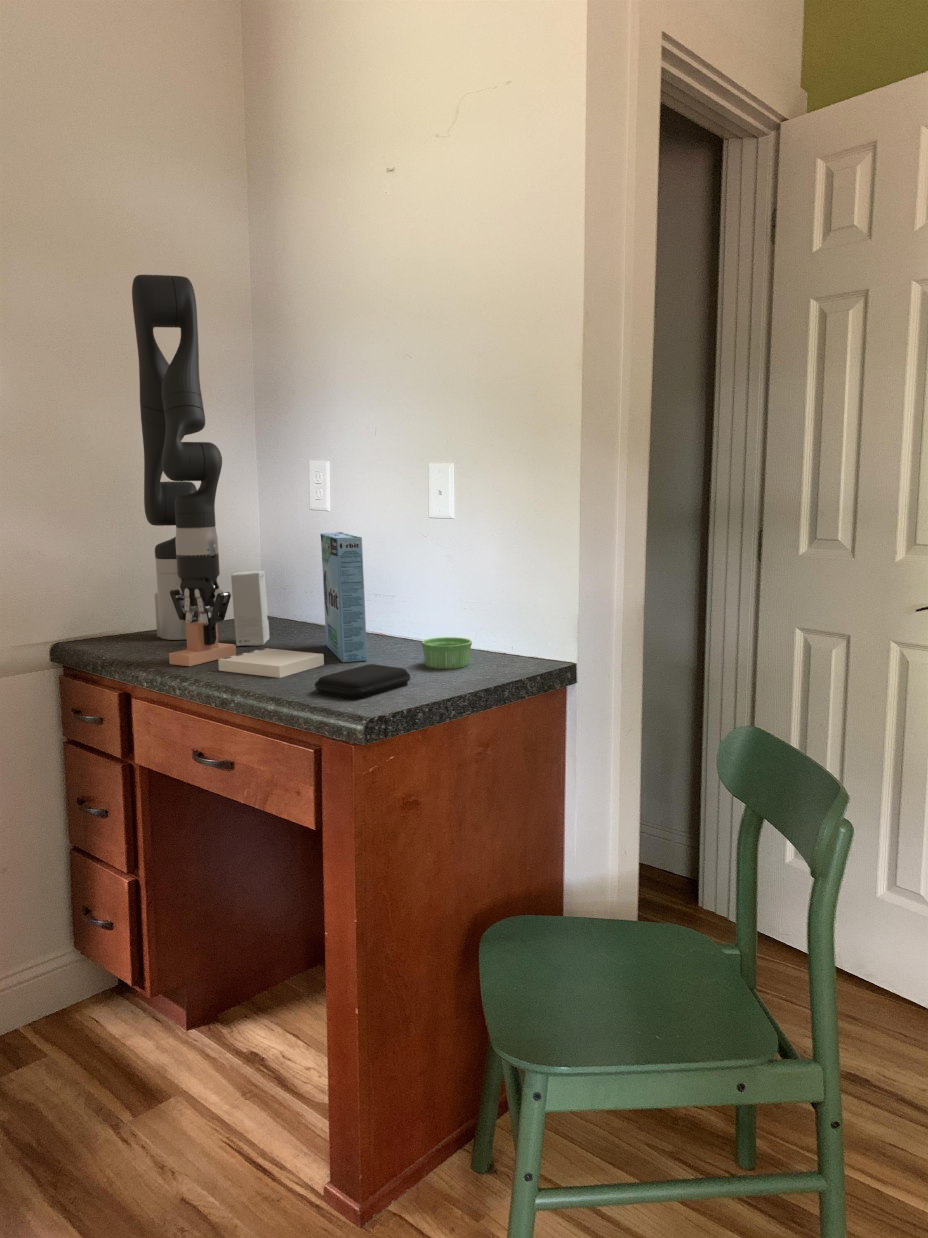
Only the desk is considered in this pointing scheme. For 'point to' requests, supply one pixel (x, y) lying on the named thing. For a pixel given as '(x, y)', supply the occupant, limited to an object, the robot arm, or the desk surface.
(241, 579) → the skincare box
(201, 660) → the stub
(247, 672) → the plate
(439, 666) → the ramekin
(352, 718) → the desk surface
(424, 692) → the desk surface
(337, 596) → the gum box
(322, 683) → the carrying case or bag
